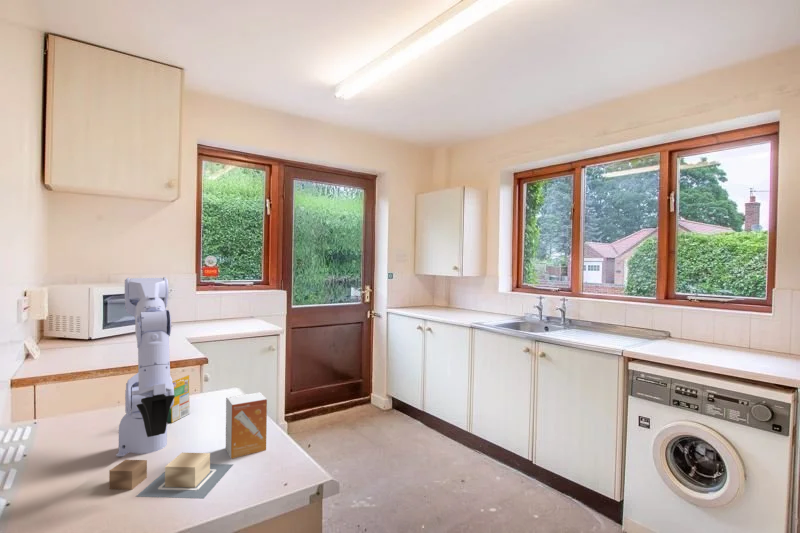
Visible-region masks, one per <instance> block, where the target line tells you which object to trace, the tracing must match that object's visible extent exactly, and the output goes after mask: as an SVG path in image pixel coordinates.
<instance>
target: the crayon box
mask: <svg viewBox="0 0 800 533" xmlns="http://www.w3.org/2000/svg"><path fill="white" fill-rule="evenodd" d="M172 383H173V386H174V395H175V397H174V405H173V406H172V407H171V408H170V410H169V414H168V419H167V424H173V423H174V422H176V421H178V420H180V419H182V418H184V417H186V416H188V415H190V414H191V413H190V407H191V406H190V375H189V374H188V375H186V376H184V377H180V378H179V379H175V380H172Z"/></svg>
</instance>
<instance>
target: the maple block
mask: <svg viewBox="0 0 800 533" xmlns="http://www.w3.org/2000/svg"><path fill="white" fill-rule="evenodd" d="M210 464H211V452H209V453H208V452H181V453H179V455H177V456H176V457H174V459H172V460H171V461H170V462H168V463H167V465H165V466H164V472H165V487H191V488H195V487H196V486H197V485H198V484H199V483H200V482H201V481H202V480H203V479H204V478H205V477H206V476H207V475H208V474H209V473H210Z"/></svg>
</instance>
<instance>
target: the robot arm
mask: <svg viewBox="0 0 800 533" xmlns="http://www.w3.org/2000/svg"><path fill="white" fill-rule="evenodd" d="M169 287H170V286H169V280H168V278H167V277H166V276H165V277H164V276H163V277H140V278H138V277H135V278H134V277H133V278H130V277H126V278H125V279H124V301H125V302H124V303H125V304H124V305H125V306H124V307H125V310H126V313H127V314H129V315H131V316H133V317H134V321H135V323H134V326H135V330H134V332H135V337H136V345H137V346H136V347H137V355H138V356H137V359H138V360H137V361H138V362H137V364H138V366H137V367H138V368H137V370H138V372H137V373H136V374H134V375H133V376H131V377H130V378H129V379H128V380H127V382H126V384H125V393H124V400H125V401H124V402H125V403H124V404H125V405H124V407H125V410H124V411H125V414H124V415H123V416H122V418H121V420H120V421H119V422H120V423H119V425H118V452H117V453H116V454H115V456H116V457H124V456H126V455H127V454H128V453H129V454H130V453H131V454H132V453H133V454H136V455H144V454H145V455H146V454H151V453H155V452H159V451H160V450H162V449H164V448H165V447H167V446H168V423H167V419H168V414H169V410H170V408H171V407H172V406H173V405H174V397H175V395H174V386H173V383H172V381H173V378H172V376H171V366H170V365H171V363H170V362H171V361H170V360H171V359H170V358H171V356H170V336H171V333H172V315H171V313H170V312H171V311H170V309H167V308H168V298H169V293H170V292H169V291H170V290H169Z"/></svg>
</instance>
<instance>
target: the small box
mask: <svg viewBox="0 0 800 533" xmlns="http://www.w3.org/2000/svg"><path fill="white" fill-rule="evenodd" d="M267 413H268V399H267V397H266V396H265V395H263V394H262V392H260V391H258V392H253V393H246V394H240V395H234V396H227V397H226V398H225V450H226V451H227V454H228V456H229V457H230V459H235V458H236V459H237V458H240V457H243V456H247V455H251V454H257V453H260V452H263V451H264V452H265V451H267V429H268V428H267V427H268V425H267V423H268V421H267V420H268V418H267V416H268V415H267Z"/></svg>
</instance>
